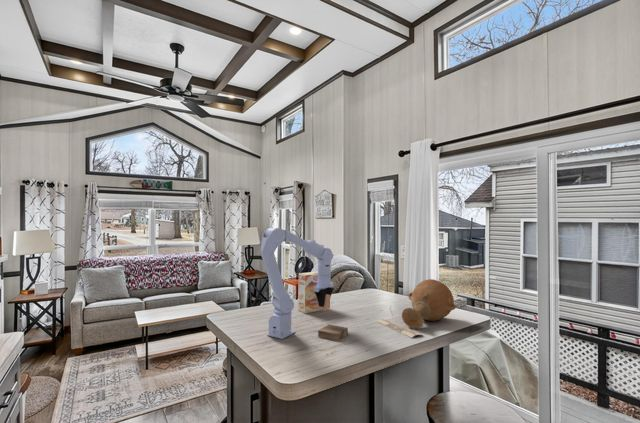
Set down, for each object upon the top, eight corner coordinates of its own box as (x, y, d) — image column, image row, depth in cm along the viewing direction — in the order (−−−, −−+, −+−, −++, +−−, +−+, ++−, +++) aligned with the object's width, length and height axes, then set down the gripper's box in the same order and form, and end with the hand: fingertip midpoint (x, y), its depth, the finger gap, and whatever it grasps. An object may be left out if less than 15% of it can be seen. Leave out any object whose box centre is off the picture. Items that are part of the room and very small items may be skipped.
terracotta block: (325, 310, 142) (325, 296, 142) (317, 308, 144) (317, 295, 144) (330, 308, 146) (330, 294, 146) (322, 306, 148) (322, 293, 148)
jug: (467, 296, 155) (444, 317, 132) (444, 322, 163) (419, 346, 141) (433, 267, 165) (406, 283, 142) (413, 293, 173) (385, 312, 151)
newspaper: (423, 338, 134) (423, 333, 134) (409, 340, 131) (409, 336, 131) (387, 321, 155) (387, 318, 155) (375, 323, 152) (375, 319, 152)
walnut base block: (338, 341, 128) (338, 334, 128) (318, 337, 132) (318, 330, 132) (347, 335, 135) (347, 327, 135) (328, 331, 140) (328, 324, 140)
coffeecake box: (304, 313, 165) (305, 274, 166) (297, 310, 171) (297, 273, 171) (328, 309, 174) (328, 272, 174) (320, 306, 179) (320, 270, 180)
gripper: (324, 277, 137) (323, 310, 137) (339, 273, 150) (339, 303, 149) (309, 276, 141) (309, 308, 140) (325, 271, 153) (325, 301, 153)
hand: (323, 305), depth 145 cm, fingers closed on terracotta block, 4 cm apart
